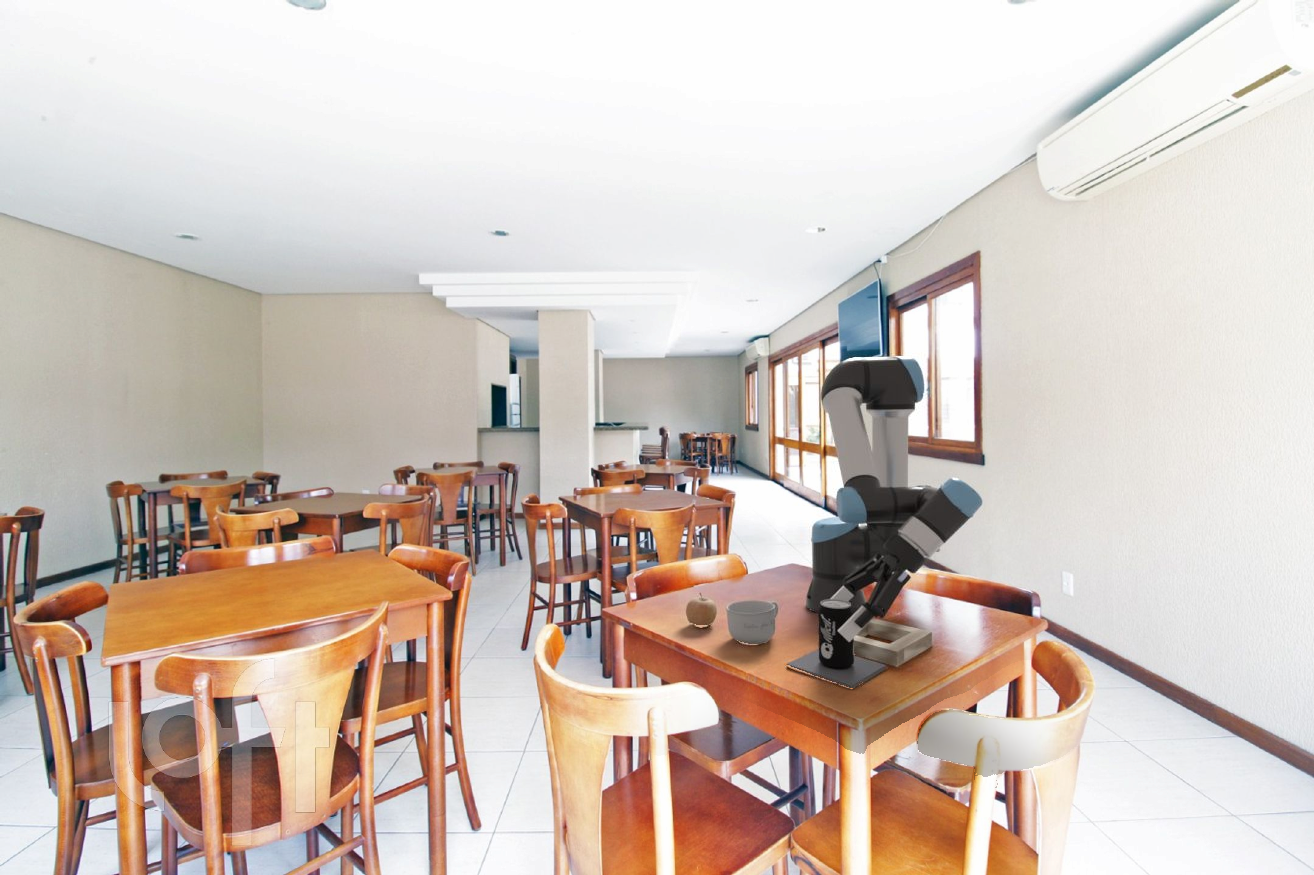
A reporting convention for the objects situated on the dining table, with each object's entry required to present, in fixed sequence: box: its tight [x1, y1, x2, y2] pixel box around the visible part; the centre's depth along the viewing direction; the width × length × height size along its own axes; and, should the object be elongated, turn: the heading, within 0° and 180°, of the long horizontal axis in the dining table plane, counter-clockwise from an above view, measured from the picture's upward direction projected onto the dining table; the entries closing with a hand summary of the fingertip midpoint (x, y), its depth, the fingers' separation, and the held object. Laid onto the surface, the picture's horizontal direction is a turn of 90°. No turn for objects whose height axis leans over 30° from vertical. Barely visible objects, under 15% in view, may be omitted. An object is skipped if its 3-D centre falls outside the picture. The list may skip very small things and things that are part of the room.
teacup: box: [725, 600, 779, 645], centre depth 134 cm, size 14×11×8 cm
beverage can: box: [817, 599, 855, 670], centre depth 117 cm, size 7×7×12 cm
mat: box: [786, 648, 887, 689], centre depth 117 cm, size 14×13×1 cm
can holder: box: [854, 617, 933, 668], centre depth 129 cm, size 16×16×3 cm
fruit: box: [685, 592, 718, 625], centre depth 144 cm, size 8×7×8 cm
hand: (834, 624), depth 116 cm, fingers open, 13 cm apart
